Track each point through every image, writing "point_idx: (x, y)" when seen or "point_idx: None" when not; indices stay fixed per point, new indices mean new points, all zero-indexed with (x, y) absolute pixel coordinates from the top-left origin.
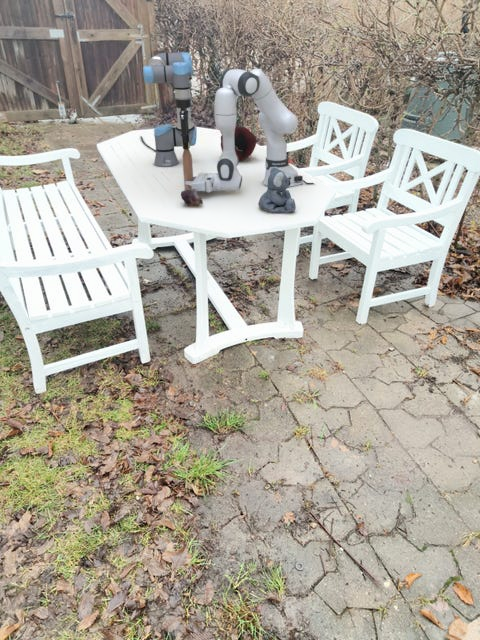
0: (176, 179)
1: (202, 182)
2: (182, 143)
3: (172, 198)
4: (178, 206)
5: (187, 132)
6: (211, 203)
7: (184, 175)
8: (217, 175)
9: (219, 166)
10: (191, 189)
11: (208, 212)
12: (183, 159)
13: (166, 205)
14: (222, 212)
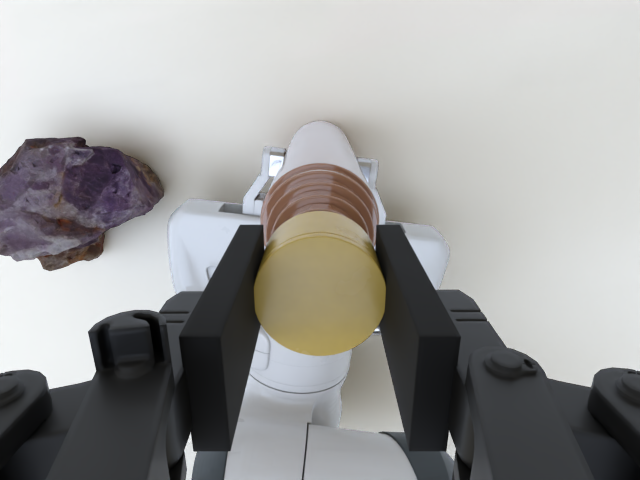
0: (632, 12)
1: (176, 290)
2: (300, 237)
3: (200, 45)
4: (59, 110)
5: (457, 456)
6: (141, 293)
7: (291, 146)
8: (267, 392)
9: (198, 472)
10: (3, 231)
11: (5, 287)
12: (277, 178)
13: (61, 22)
14: (23, 350)
